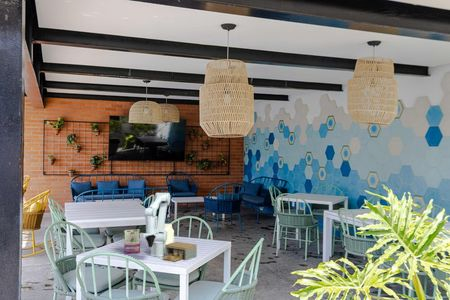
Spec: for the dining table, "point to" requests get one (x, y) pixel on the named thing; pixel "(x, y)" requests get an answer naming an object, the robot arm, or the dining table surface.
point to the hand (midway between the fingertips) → (150, 246)
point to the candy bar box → (132, 241)
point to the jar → (169, 233)
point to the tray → (173, 259)
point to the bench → (187, 253)
